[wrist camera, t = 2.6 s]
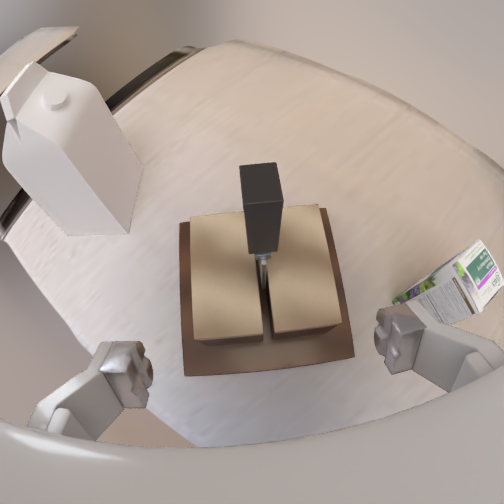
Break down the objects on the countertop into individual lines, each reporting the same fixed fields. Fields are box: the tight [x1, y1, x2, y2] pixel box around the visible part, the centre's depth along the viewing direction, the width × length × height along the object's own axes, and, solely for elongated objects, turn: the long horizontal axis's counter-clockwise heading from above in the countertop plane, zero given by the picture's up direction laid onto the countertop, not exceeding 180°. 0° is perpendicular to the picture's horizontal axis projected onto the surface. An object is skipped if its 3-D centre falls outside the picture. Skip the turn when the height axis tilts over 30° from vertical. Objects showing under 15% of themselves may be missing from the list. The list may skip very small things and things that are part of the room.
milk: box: [0, 61, 144, 236], centre depth 30 cm, size 12×12×26 cm
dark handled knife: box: [239, 162, 284, 289], centre depth 23 cm, size 4×2×15 cm, turn 6°
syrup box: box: [392, 239, 504, 325], centre depth 28 cm, size 6×6×14 cm
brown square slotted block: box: [179, 204, 355, 376], centre depth 33 cm, size 20×20×8 cm
